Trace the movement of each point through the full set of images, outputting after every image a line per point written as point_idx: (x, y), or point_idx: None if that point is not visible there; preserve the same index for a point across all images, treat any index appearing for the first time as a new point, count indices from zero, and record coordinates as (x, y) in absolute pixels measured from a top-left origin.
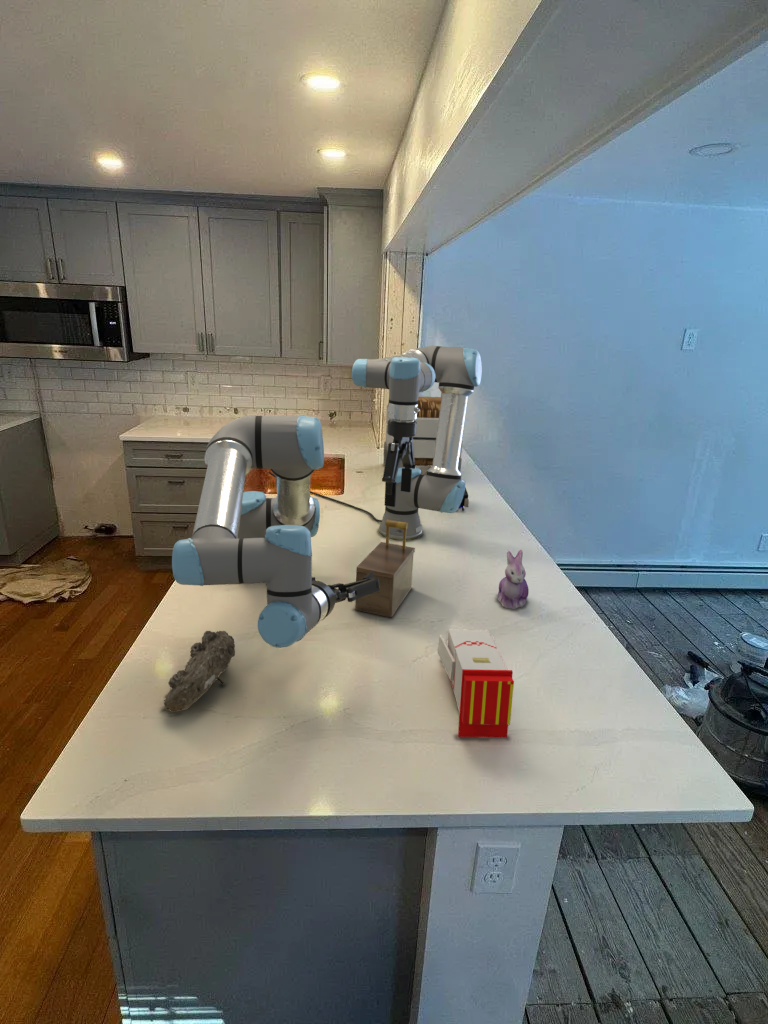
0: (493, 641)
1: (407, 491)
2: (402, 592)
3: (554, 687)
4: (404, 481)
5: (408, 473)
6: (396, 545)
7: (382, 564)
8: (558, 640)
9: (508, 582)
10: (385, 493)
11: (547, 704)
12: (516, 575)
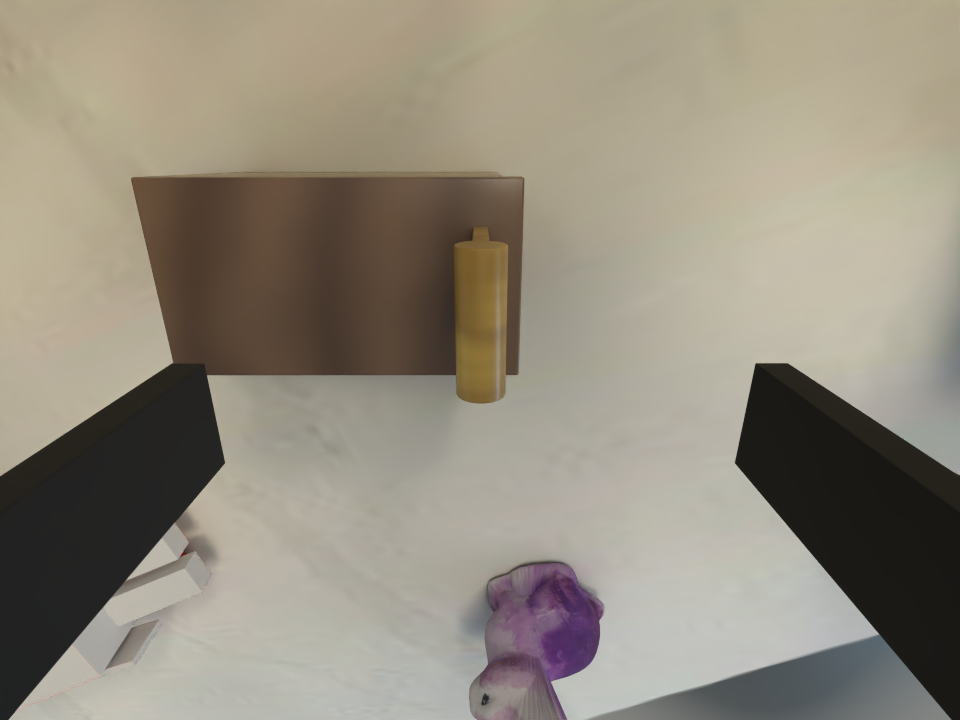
0: (28, 705)
1: (743, 441)
2: None
3: (198, 692)
4: (826, 468)
5: (909, 619)
6: (508, 280)
7: (242, 292)
8: (385, 690)
9: (495, 653)
10: (71, 437)
11: (135, 685)
12: (475, 708)
